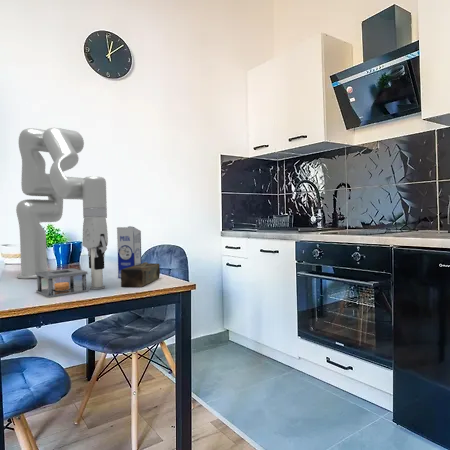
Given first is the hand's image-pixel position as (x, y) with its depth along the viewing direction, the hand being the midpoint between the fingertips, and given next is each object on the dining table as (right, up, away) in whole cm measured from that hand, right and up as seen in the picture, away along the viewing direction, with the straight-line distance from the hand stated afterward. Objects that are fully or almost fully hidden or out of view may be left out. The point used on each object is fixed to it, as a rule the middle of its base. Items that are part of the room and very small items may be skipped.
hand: (96, 268), depth 127 cm
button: (-10, -6, -5) cm, 12 cm away
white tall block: (0, -6, 0) cm, 6 cm away
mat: (0, -7, 0) cm, 7 cm away
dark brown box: (+13, -7, +10) cm, 18 cm away
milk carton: (+6, -6, +23) cm, 24 cm away
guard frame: (-10, -7, -5) cm, 13 cm away
